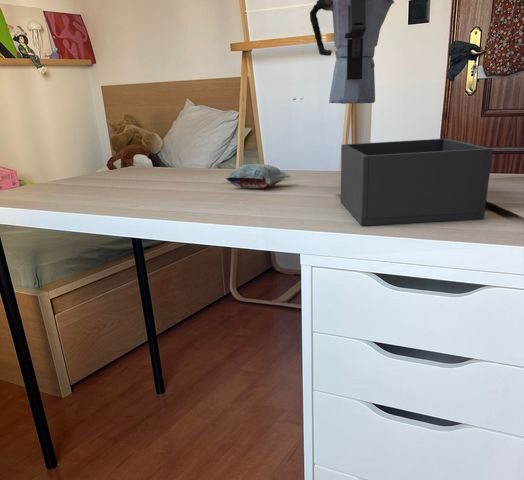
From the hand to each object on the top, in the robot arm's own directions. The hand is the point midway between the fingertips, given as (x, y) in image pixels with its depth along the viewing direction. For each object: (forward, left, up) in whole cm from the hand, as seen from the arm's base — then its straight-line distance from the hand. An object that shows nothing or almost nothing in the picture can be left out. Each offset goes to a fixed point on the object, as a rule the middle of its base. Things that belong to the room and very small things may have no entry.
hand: (350, 79), depth 102 cm
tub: (-5, +25, -20) cm, 32 cm away
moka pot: (0, 0, -4) cm, 4 cm away
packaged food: (+19, -8, -21) cm, 29 cm away
